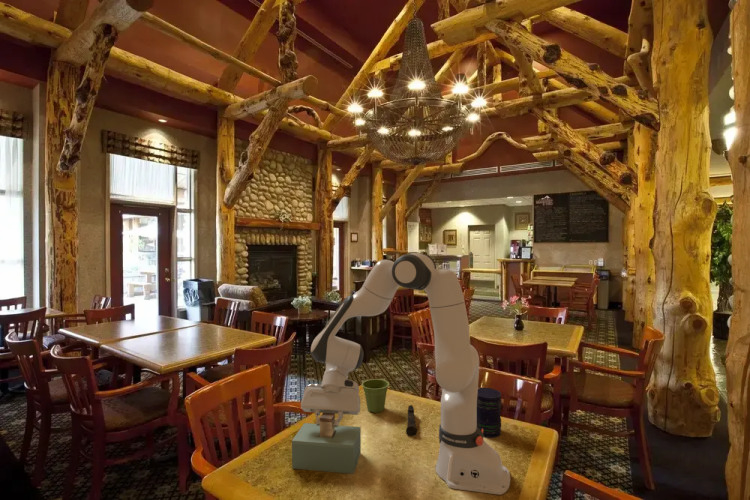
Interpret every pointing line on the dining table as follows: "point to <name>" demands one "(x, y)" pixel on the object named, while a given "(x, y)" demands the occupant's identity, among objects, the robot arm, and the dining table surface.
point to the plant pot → (375, 394)
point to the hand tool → (411, 422)
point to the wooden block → (327, 425)
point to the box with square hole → (326, 449)
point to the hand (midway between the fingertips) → (326, 425)
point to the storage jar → (489, 412)
